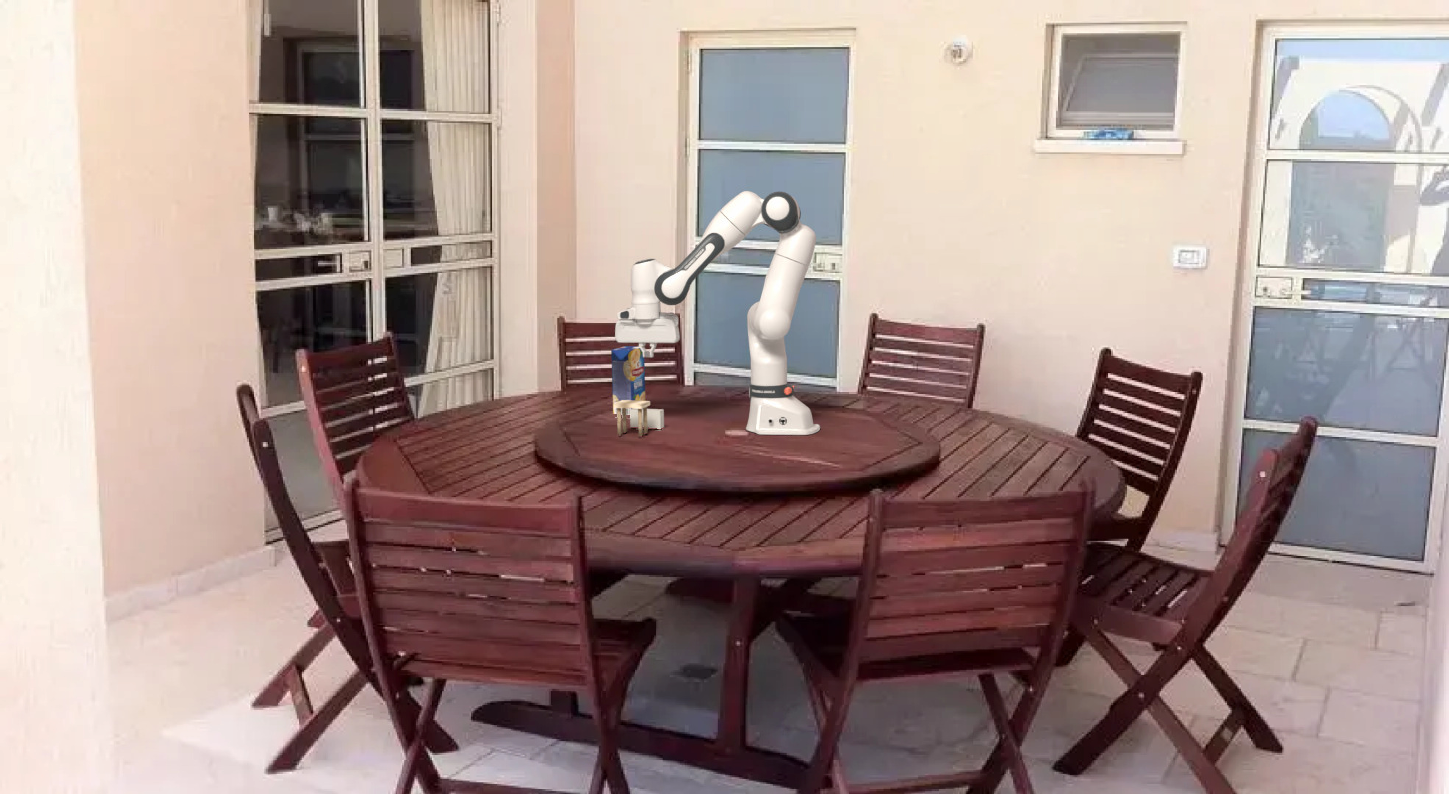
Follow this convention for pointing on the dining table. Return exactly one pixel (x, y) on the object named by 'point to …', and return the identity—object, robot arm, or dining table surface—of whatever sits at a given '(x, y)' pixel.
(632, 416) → the stone block
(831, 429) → the dining table surface
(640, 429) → the stool
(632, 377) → the beverage box
